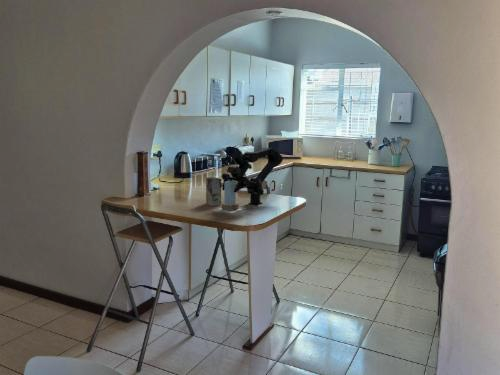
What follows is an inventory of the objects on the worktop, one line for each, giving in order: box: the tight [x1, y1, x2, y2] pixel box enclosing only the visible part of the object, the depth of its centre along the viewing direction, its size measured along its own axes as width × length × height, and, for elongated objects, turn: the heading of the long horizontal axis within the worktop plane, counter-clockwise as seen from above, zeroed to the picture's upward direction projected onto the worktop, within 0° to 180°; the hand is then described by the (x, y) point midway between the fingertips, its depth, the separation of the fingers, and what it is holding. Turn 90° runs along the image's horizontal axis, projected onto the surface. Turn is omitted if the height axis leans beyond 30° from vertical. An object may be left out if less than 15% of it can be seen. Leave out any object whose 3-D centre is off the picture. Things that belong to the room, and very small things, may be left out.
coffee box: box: [205, 176, 222, 207], centre depth 273 cm, size 9×6×16 cm
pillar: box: [223, 180, 237, 205], centre depth 259 cm, size 4×4×13 cm
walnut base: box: [213, 203, 247, 215], centre depth 260 cm, size 16×12×4 cm
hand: (228, 191), depth 257 cm, fingers open, 9 cm apart
